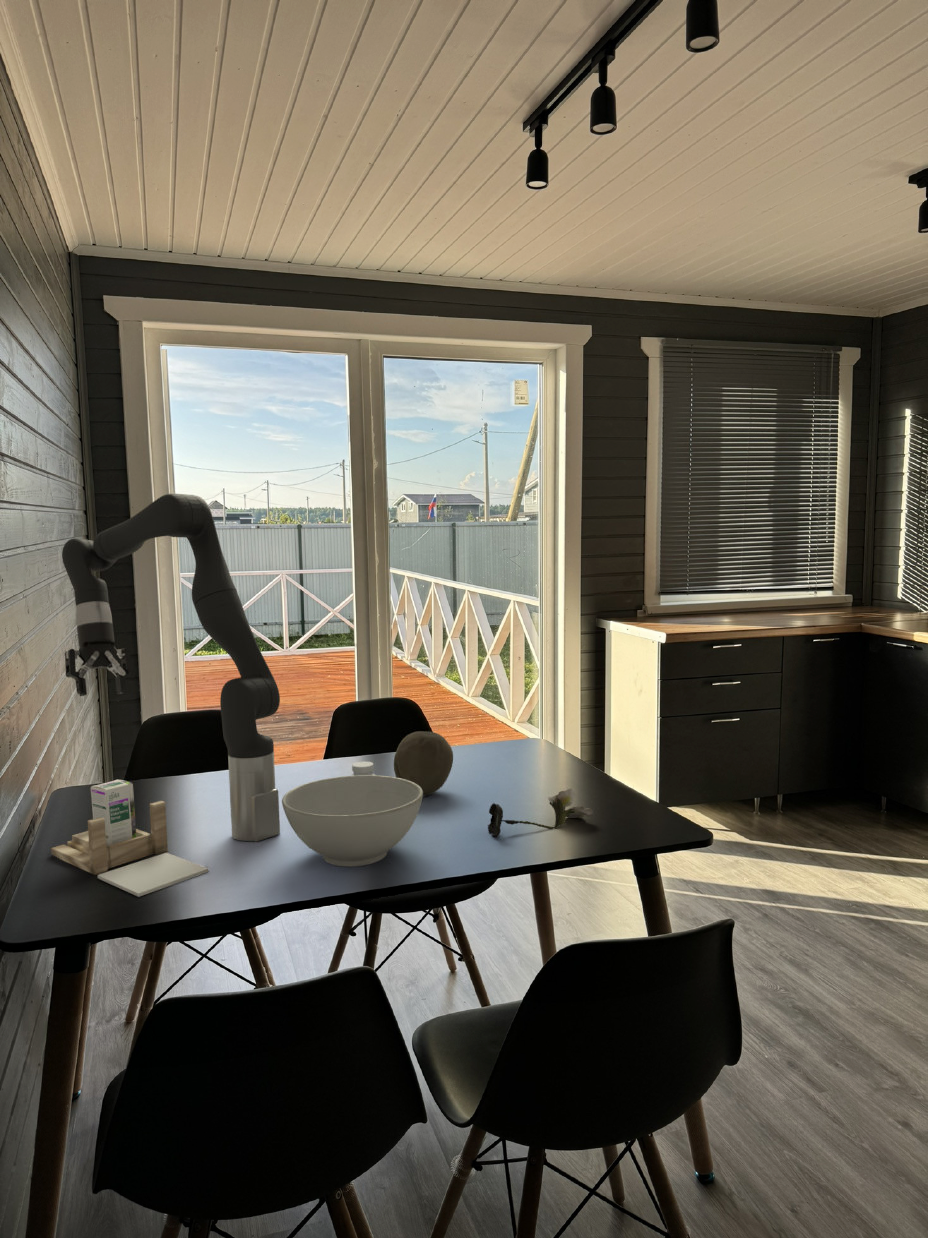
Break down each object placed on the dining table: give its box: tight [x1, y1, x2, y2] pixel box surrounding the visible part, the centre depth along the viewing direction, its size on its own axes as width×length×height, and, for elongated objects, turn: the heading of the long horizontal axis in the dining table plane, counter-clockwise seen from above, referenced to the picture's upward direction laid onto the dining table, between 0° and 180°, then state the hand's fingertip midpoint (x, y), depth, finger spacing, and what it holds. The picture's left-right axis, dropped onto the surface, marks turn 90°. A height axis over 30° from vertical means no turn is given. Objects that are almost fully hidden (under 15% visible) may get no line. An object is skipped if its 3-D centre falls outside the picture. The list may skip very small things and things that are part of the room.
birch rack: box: [50, 800, 169, 876], centre depth 168 cm, size 17×15×10 cm
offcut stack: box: [66, 830, 89, 852], centre depth 171 cm, size 7×9×3 cm
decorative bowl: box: [281, 774, 424, 868], centre depth 164 cm, size 27×27×12 cm
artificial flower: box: [487, 788, 594, 837], centre depth 178 cm, size 9×22×10 cm, turn 106°
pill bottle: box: [350, 761, 376, 776], centre depth 188 cm, size 6×6×12 cm
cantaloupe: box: [393, 730, 454, 797], centre depth 203 cm, size 14×14×15 cm
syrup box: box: [90, 779, 137, 846], centre depth 166 cm, size 6×6×14 cm
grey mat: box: [97, 852, 210, 898], centre depth 156 cm, size 14×14×1 cm
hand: (102, 694), depth 191 cm, fingers open, 8 cm apart
